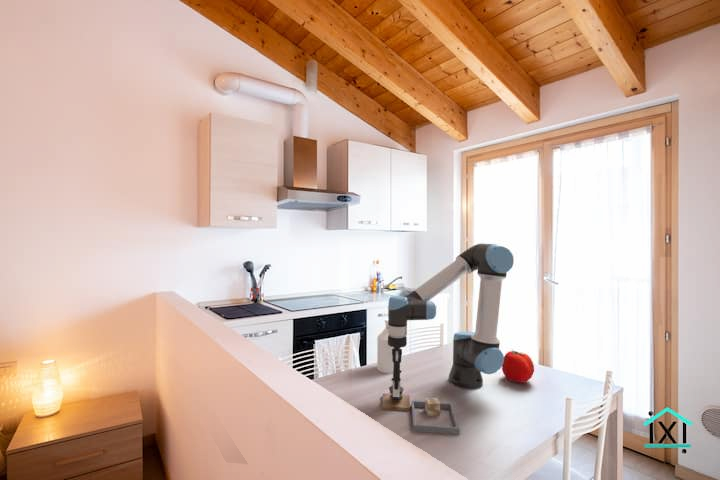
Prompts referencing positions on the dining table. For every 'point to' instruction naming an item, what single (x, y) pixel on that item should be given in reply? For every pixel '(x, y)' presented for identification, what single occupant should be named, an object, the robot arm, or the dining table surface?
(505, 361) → the tomato
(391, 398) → the dark grey chess piece
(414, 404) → the tray
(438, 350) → the dining table surface
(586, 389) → the dining table surface
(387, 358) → the bottle
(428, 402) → the beech block
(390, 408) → the light brown wooden board
